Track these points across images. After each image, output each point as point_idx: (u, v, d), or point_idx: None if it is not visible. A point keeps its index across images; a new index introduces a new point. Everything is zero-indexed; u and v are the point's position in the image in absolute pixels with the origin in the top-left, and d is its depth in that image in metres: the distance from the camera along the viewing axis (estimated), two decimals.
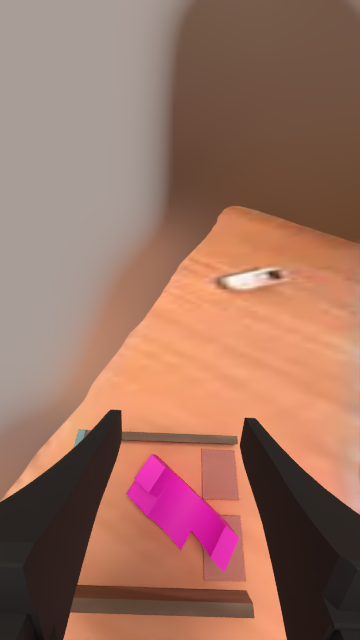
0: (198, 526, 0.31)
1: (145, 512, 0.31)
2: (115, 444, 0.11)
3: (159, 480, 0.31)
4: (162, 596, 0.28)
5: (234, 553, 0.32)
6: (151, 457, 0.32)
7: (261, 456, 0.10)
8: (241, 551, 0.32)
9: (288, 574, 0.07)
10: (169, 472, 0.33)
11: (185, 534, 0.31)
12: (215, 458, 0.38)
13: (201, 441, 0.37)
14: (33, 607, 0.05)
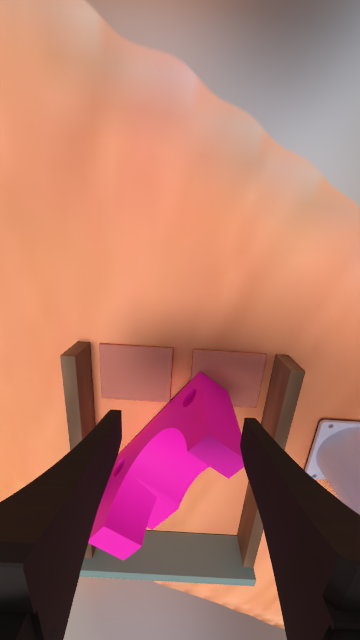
0: None
1: (174, 509, 0.20)
2: (115, 444, 0.11)
3: (128, 516, 0.18)
4: None
5: (235, 365, 0.21)
6: (90, 542, 0.18)
7: (261, 456, 0.10)
8: (235, 355, 0.20)
9: (288, 574, 0.07)
10: (121, 490, 0.19)
11: None
12: (113, 378, 0.21)
13: (78, 419, 0.19)
14: (33, 607, 0.05)
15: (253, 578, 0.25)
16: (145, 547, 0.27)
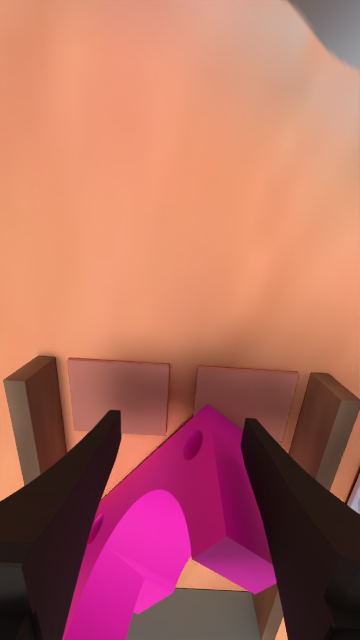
0: None
1: (168, 593, 0.15)
2: (114, 444, 0.11)
3: (102, 617, 0.13)
4: None
5: (256, 388, 0.15)
6: None
7: (262, 456, 0.10)
8: (255, 374, 0.15)
9: (289, 574, 0.07)
10: (93, 574, 0.13)
11: None
12: (89, 404, 0.16)
13: (36, 466, 0.14)
14: (32, 607, 0.05)
15: None
16: None
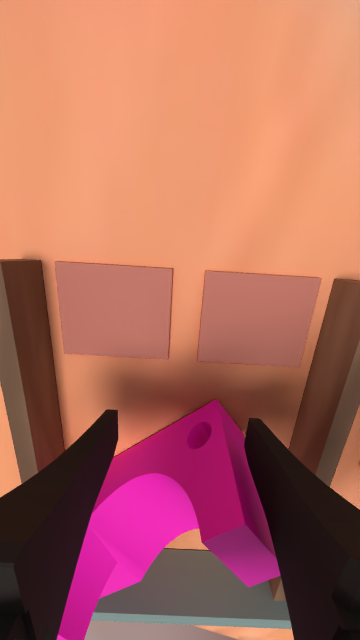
0: None
1: (135, 581, 0.15)
2: (111, 444, 0.11)
3: (71, 595, 0.12)
4: (308, 456, 0.15)
5: (271, 297, 0.13)
6: None
7: (266, 456, 0.10)
8: (271, 279, 0.13)
9: (295, 574, 0.07)
10: None
11: None
12: (81, 320, 0.14)
13: (18, 379, 0.12)
14: (24, 607, 0.05)
15: None
16: None
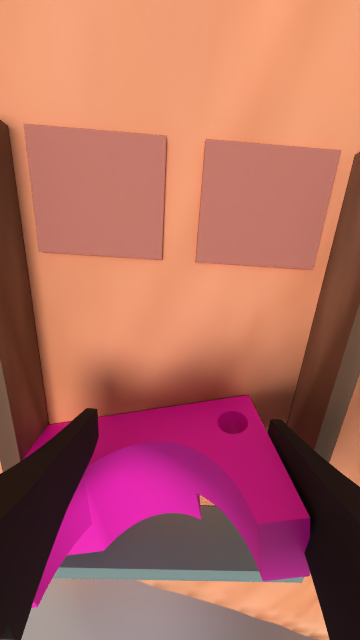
0: (203, 485, 0.13)
1: (98, 549, 0.13)
2: (89, 442, 0.11)
3: None
4: (323, 372, 0.13)
5: (283, 176, 0.11)
6: None
7: (292, 458, 0.10)
8: (282, 151, 0.11)
9: (330, 576, 0.07)
10: None
11: (191, 499, 0.14)
12: (58, 206, 0.12)
13: None
14: None
15: None
16: None
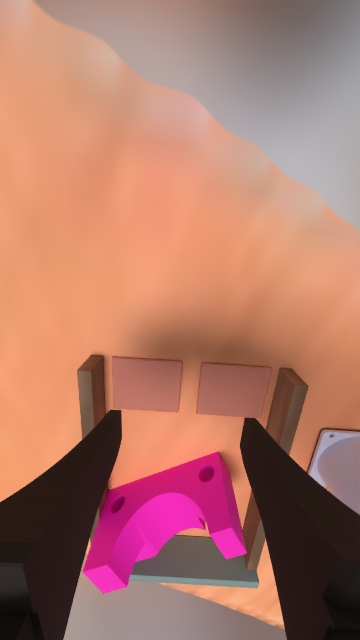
0: (197, 512, 0.23)
1: (152, 555, 0.24)
2: (115, 444, 0.11)
3: (122, 557, 0.21)
4: None
5: (242, 378, 0.22)
6: (86, 573, 0.20)
7: (261, 456, 0.10)
8: (241, 369, 0.21)
9: (288, 574, 0.07)
10: (123, 532, 0.22)
11: (196, 520, 0.24)
12: (125, 389, 0.22)
13: None
14: (33, 607, 0.05)
15: (256, 580, 0.26)
16: None
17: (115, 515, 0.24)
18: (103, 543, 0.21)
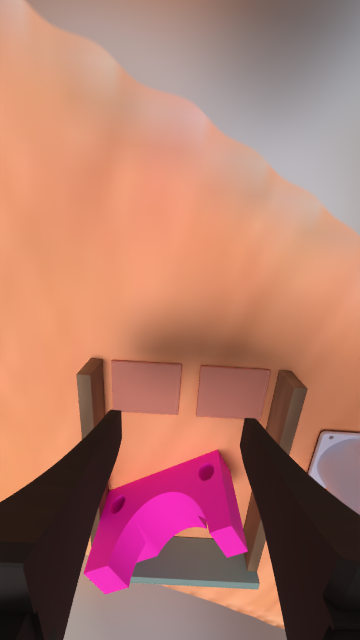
0: (197, 511, 0.23)
1: (154, 555, 0.24)
2: (115, 444, 0.11)
3: (123, 558, 0.21)
4: None
5: (241, 381, 0.22)
6: (87, 574, 0.20)
7: (261, 456, 0.10)
8: (240, 371, 0.21)
9: (288, 574, 0.07)
10: (123, 532, 0.22)
11: (197, 518, 0.24)
12: (125, 392, 0.22)
13: None
14: (33, 607, 0.05)
15: (257, 582, 0.26)
16: None
17: (116, 516, 0.24)
18: (104, 544, 0.21)
